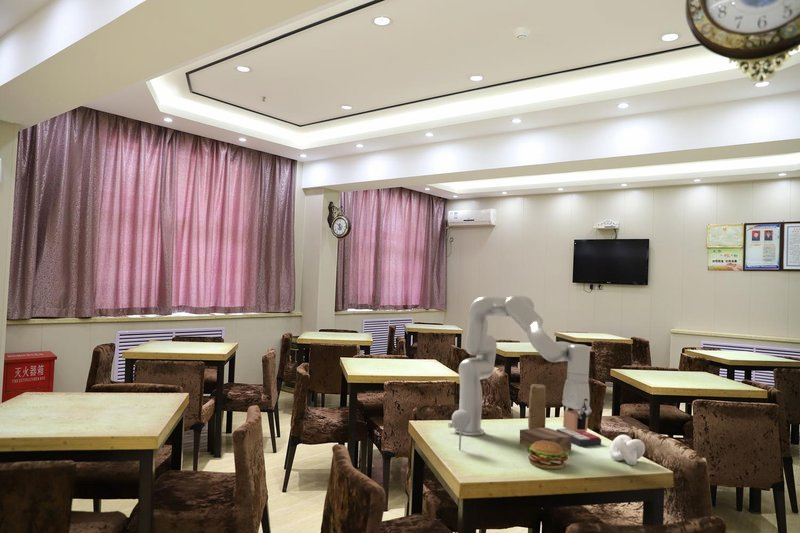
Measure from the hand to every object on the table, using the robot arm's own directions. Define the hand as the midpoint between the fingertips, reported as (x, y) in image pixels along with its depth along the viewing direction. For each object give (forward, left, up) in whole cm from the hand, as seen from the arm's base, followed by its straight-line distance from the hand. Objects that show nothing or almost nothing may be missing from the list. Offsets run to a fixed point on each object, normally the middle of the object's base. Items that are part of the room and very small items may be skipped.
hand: (575, 426), depth 191 cm
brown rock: (+12, +41, -12) cm, 45 cm away
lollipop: (-38, +18, -12) cm, 44 cm away
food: (-14, -3, -12) cm, 19 cm away
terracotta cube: (0, 0, -1) cm, 1 cm away
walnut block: (-2, +15, -12) cm, 20 cm away
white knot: (+18, -6, -12) cm, 23 cm away
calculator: (+19, +21, -13) cm, 31 cm away
